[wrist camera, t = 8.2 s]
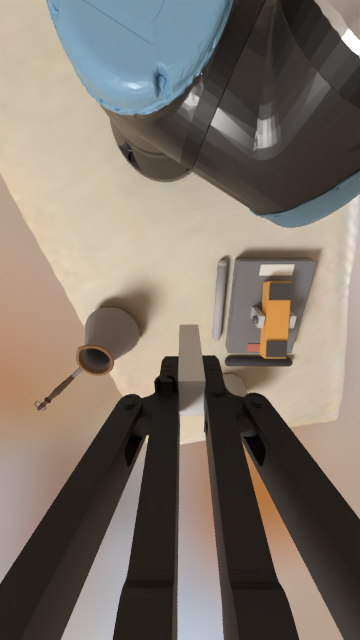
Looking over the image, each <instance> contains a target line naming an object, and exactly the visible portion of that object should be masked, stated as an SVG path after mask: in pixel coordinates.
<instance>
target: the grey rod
mask: <svg viewBox="0 0 360 640" xmlns="http://www.w3.org/2000/svg"><path fill="white" fill-rule="evenodd" d="M226 274H227V262H226V261H225V260H220V261H219V262H218V269H217V282H216V296H215V309H214V322H213V336H212V337H213V339H214V340H216V341H217V340H219V339H220V337H221V327H222V316H223V306H224V295H225V285H226Z"/></svg>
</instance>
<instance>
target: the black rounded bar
mask: <svg viewBox="0 0 360 640" xmlns="http://www.w3.org/2000/svg"><path fill="white" fill-rule="evenodd" d="M225 364H226V365H227V366H291V365H292V360H291V359H290V358H226V359H225Z"/></svg>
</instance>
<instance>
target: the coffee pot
mask: <svg viewBox="0 0 360 640" xmlns="http://www.w3.org/2000/svg"><path fill="white" fill-rule="evenodd" d="M138 340H139V329H138V326H137V324H136V322H135V320H134V319H133V318H132V316H131V315H129V314H128V313H127V312H125V311H123V310H121V309H117V308H102V309H98V310H96V311H95V312H93V313H92V314H91V315H90V316H89V317H88V319H87V322H86V324H85V346H81V347H79V348H78V351H77V355H76V360H77V364H78V365H79V368H78V369H77V370H76V371H75V372H74V373H73V374H72V375H71V376H70V377H69V378H67V379H66V380H65V381H64V382H63V383H61V384H60V385H59V386H58V387H57V388H55V389H54V391H53V392H52V393H51V394H50V396H49V397H46V398H45V400H44V402H43V403H42V402H39V401H36V402H39V403H41V404H40V405H39V406H37V405H36V402H35V406H36V407H37V410H43V409H42V408H43V407H45V409H46V406H45V405H46V404H47V403H50V402H51V400H52V399H53V398H54V397H56V396H57V395H59V394H60V393H61V392H62V391H63V390H64V389H65V387H67V386H68V384H70V382H71V381H72V380H73V379H74V378H75V377H76V376H77V375H78V374H79V373H80V372H81V371H85V372H87V373H89V374H91V375H96V376H97V375H105V374H107V373H109V372H110V371H111V370H112V368H113V366H114V360H116V359H117V358H119V357H121V356H122V355H124V354H126V353H127V352H129V351H131V350H132V349H133V348H134V347H135V346H136V344H137V342H138ZM45 409H44V410H45Z"/></svg>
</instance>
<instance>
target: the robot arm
mask: <svg viewBox="0 0 360 640" xmlns="http://www.w3.org/2000/svg"><path fill="white" fill-rule="evenodd" d="M46 1H47V5H48V9H49V11H50V15H51V19H52V21H53V24H54V27H55V29H56V32H57V35H58V37H59V40H60V42H61V44H62V46H63V48H64V50H65V52H66V54H67V56H68V58H69V60H70V61H71V63H72V65H73V68H74V70H75V72H76V74H77V76H78V77H79V78H80V80H81V82H82V84H83V86H85V87H86V89H87V91H88V93H89V94H90V95H91V96H92V97H94V98H95V99H96V101H97V102H98V103H99V104H100V105H101V107H102V108H103V109H104V111H105V112H106V113H107V115H108V116H109V117H110V122H111V127H112V131H113V134H114V137H115V140H116V142H117V145H118V147H119V149H120V151H121V152H122V154H123V156H124V157H125V158H126V160H127V161H128V162H129V163H130V164H131V166H132V167H133V168H135V169H136V170H137V171H138V172H139V173H140V174H142V175H143V176H145V177H147V178H149V179H151V180H154V181H158V182H172V181H176V180H179V179H182V178H184V177H185V176H187V175H189V174H190V173H191V172H193V173H195V174H197V175H198V176H200V177H201V178H203V179H204V180H206V181H207V182H209V183H211V184H212V185H214V186H215V187H217V188H218V189H220V190H222V191H223V192H225V193H226V194H228V195H229V196H231V197H232V198H234V199H236V200H237V201H239V202H240V203H242V204H243V205H245V206H246V207H248V208H249V209H250V211H251V212H252V213H253V214H255V215H256V216H260V217H262V218H266V219H268V220H270V221H271V222H273V223H275V224H277V225H279V226H282V227H287V228H294V227H301V226H305V225H308V224H311V223H313V222H316V221H318V220H320V219H322V218H324V217H326V216H328V215H330V214H331V213H333V212H335V211H336V210H338V209H339V208H341V207H342V206H344V205H345V204H347V203H348V202H350V201H351V200H352V199H353V198H355V197H356V196H357V195H358V194H360V0H46ZM154 384H155V393H154V394H152V395H150V396H148V397H144V398H140V396H138V395H136V394H129V395H126V396H124V397H122V398H121V399H120V400H119V401H118V403H117V405H116V406H115V408H114V410H113V411H112V412H111V414H110V416H109V417H108V418H107V420H106V422H105V423H104V425H103V426H102V428H101V429H100V431H99V432H98V434H97V435H96V437H95V439H94V440H93V442H92V443H91V445H90V446H89V448H88V450H87V451H86V452H85V454H84V455H83V457H82V459H81V460H80V462H79V463H78V465H77V466H76V468H75V470H74V471H73V472H72V474H71V476H70V477H69V479H68V480H67V482H66V483H65V485H64V486H63V488H62V489H61V491H60V493H59V494H58V496H57V497H56V499H55V500H54V502H53V503H52V505H51V506H50V508H49V509H48V511H47V513H46V514H45V516H44V517H43V519H42V520H41V522H40V523H39V525H38V526H37V528H36V530H35V531H34V533H33V534H32V536H31V537H30V539H29V541H28V542H27V543H26V545H25V547H24V548H23V550H22V551H21V553H20V555H19V556H18V557H17V559H16V560H15V562H14V563H13V565H12V567H11V568H10V570H9V571H8V573H7V574H6V576H5V577H4V579H3V580H2V582H1V584H0V640H61V637H62V635H63V633H64V630H65V628H66V626H67V623H68V621H69V619H70V616H71V614H72V611H73V609H74V607H75V604H76V602H77V599H78V597H79V595H80V592H81V590H82V588H83V585H84V583H85V580H86V578H87V576H88V573H89V571H90V569H91V566H92V564H93V562H94V559H95V557H96V554H97V552H98V550H99V547H100V545H101V543H102V540H103V538H104V536H105V533H106V531H107V528H108V526H109V524H110V521H111V519H112V516H113V514H114V512H115V509H116V507H117V505H118V502H119V500H120V498H121V495H122V493H123V490H124V488H125V486H126V483H127V481H128V479H129V476H130V474H131V471H132V469H133V467H134V464H135V462H136V460H137V457H138V455H139V452H140V450H141V448H142V445H143V443H144V441H145V438H146V436H147V435H149V438H148V444H147V451H146V457H145V465H144V470H143V477H142V483H141V491H140V496H139V503H138V510H137V516H136V523H135V529H134V536H133V542H132V548H131V555H130V562H129V568H128V573H127V578H126V581H125V583H124V586H123V588H122V592H121V596H120V601H119V606H118V612H117V617H116V623H115V629H114V635H113V640H177V583H178V513H179V511H178V509H179V507H178V506H179V442H180V415H204V416H205V422H204V432H205V435H206V444H207V455H208V465H209V475H210V485H211V496H212V505H213V516H214V526H215V536H216V547H217V557H218V567H219V577H220V587H221V597H222V614H223V633H224V640H299V637H298V633H297V630H296V626H295V622H294V619H293V615H292V612H291V608H290V605H289V602H288V599H287V597H286V594H285V592H284V590H283V588H282V586H281V585H280V583H279V582H278V579H277V576H276V573H275V570H274V566H273V562H272V558H271V554H270V550H269V546H268V542H267V538H266V534H265V530H264V526H263V523H262V519H261V515H260V511H259V507H258V503H257V499H256V495H255V491H254V488H253V484H252V479H251V476H250V472H249V468H248V464H247V460H246V456H245V453H244V448H243V444H244V445H245V447H246V449H247V451H248V453H249V455H250V457H251V459H252V461H253V463H254V465H255V467H256V469H257V471H258V473H259V475H260V477H261V479H262V480H263V482H264V484H265V486H266V488H267V490H268V492H269V494H270V496H271V498H272V500H273V502H274V504H275V506H276V508H277V510H278V512H279V514H280V516H281V518H282V520H283V522H284V524H285V525H286V527H287V529H288V531H289V533H290V535H291V537H292V539H293V541H294V543H295V545H296V547H297V549H298V551H299V552H300V555H301V557H302V559H303V561H304V563H305V564H306V566H307V568H308V570H309V572H310V574H311V576H312V578H313V580H314V582H315V584H316V586H317V588H318V590H319V592H320V594H321V596H322V598H323V600H324V602H325V603H326V605H327V607H328V609H329V611H330V613H331V615H332V617H333V619H334V621H335V623H336V625H337V627H338V628H339V631H340V633H341V635H342V637H343V639H344V640H360V519H359V518H358V516H357V515H356V514H355V513H354V511H353V510H352V509H351V507H350V506H349V505H348V503H347V502H346V501H345V500H344V498H343V497H342V496H341V494H340V493H339V492H338V490H337V489H336V488H335V486H333V484H332V483H331V481H330V480H329V479H328V477H327V476H326V475H325V474H324V472H323V471H322V470H321V468H320V467H319V466H318V464H317V463H316V462H315V461H314V459H313V458H312V457H311V455H310V454H309V453H308V451H307V450H306V449H305V448H304V446H303V445H302V444H301V442H300V441H299V440H298V438H297V437H296V436H295V434H294V433H293V432H292V431H291V429H290V428H289V427H288V425H287V424H286V423H285V421H284V420H283V419H282V418H281V416H280V415H279V414H278V412H277V411H276V410H275V408H274V407H273V406H272V405H271V403H270V402H269V401H268V399H267V398H265V397H264V396H263V395H261V394H258V393H249V394H246V396H245V397H241V396H237V395H234V394H232V393H231V392H229V391H228V389H227V388H226V386H225V383H224V379H223V375H222V371H221V367H220V363H219V360H218V358H217V357H216V356H215V355H213V356H202V352H201V344H200V337H199V329H198V325H180V334H179V356H167V357H165V358H164V359H163V360H162V364H161V371H160V376H158V377H157V378H156V379H155V381H154ZM242 442H243V444H242Z"/></svg>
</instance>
